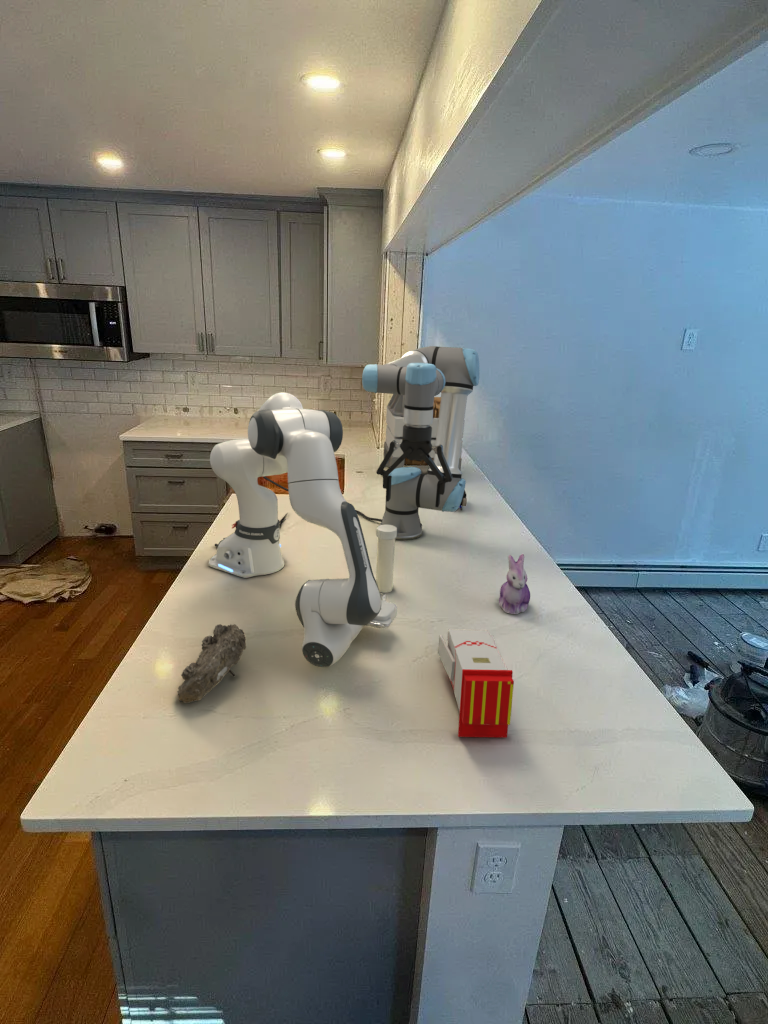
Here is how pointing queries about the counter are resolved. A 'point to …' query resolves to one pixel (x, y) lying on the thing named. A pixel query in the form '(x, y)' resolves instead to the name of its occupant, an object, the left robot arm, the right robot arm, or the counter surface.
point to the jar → (385, 564)
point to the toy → (478, 682)
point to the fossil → (212, 662)
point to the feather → (282, 520)
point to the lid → (386, 532)
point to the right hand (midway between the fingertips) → (412, 502)
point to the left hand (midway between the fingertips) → (365, 593)
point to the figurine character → (463, 501)
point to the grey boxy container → (396, 430)
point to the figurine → (515, 588)
